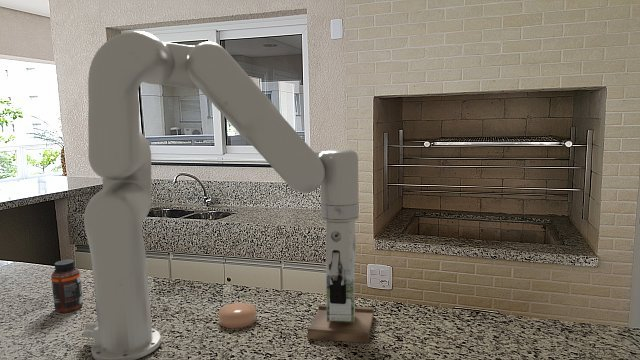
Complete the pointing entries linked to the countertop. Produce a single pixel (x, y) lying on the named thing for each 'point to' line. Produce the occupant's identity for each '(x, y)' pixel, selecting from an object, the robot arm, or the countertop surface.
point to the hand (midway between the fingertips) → (340, 295)
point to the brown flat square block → (342, 326)
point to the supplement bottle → (66, 286)
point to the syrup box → (348, 309)
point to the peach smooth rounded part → (237, 315)
